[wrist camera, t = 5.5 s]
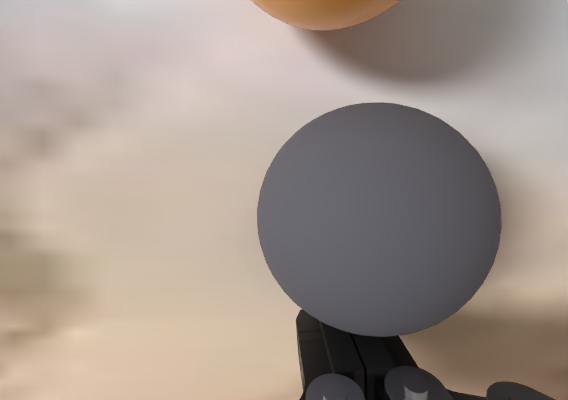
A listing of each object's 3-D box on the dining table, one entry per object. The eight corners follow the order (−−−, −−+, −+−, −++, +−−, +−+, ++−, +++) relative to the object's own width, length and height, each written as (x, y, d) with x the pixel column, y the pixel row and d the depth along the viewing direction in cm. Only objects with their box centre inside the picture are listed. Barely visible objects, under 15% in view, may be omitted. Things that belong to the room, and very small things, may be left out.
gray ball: (262, 373, 8) (249, 203, 12) (455, 347, 9) (387, 197, 13) (286, 289, 3) (251, 50, 7) (677, 253, 4) (469, 60, 8)
